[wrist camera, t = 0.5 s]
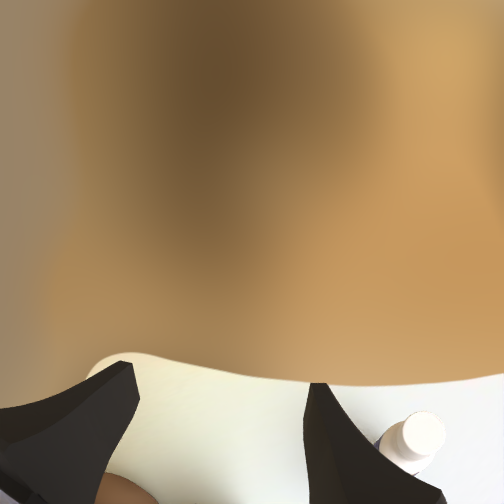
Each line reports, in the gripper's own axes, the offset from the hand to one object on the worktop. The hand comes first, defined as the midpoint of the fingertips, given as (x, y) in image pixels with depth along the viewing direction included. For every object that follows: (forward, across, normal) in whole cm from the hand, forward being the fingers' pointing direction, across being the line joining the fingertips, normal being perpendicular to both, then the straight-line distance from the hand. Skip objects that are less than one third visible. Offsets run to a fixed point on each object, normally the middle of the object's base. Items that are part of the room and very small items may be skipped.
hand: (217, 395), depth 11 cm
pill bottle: (+7, -14, +17) cm, 23 cm away
